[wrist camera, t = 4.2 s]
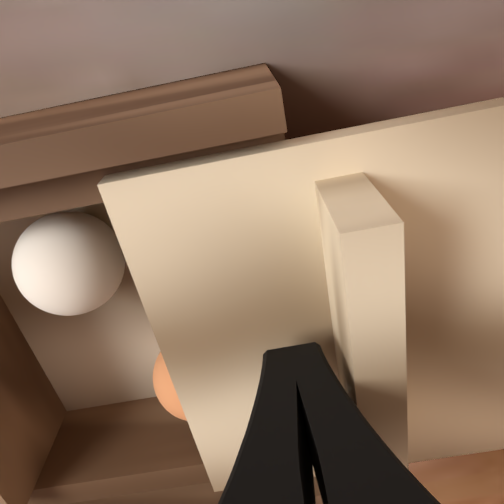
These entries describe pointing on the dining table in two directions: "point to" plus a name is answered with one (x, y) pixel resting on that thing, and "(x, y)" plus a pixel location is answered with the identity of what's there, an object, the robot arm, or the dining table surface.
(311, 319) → the lid
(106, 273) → the ball
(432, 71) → the dining table surface
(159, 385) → the ball
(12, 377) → the box
